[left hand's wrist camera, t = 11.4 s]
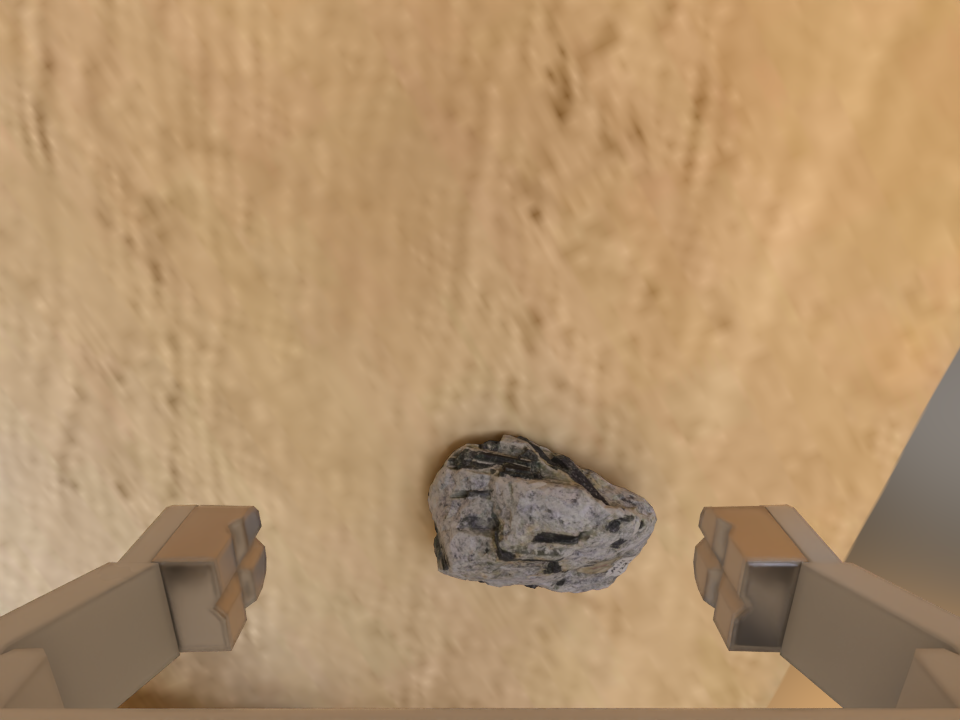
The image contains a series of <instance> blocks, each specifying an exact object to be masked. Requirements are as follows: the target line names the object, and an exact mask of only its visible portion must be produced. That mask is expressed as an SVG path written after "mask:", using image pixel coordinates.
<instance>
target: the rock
mask: <svg viewBox="0 0 960 720" xmlns="http://www.w3.org/2000/svg"><path fill="white" fill-rule="evenodd" d="M428 496H429V497H428V503H429V509H430V511H431V513H432V519H433V520H434V523H435V530H436V532H437V535H436V537H435V539H434V548H435V551H434V552H435V554H436V557H437V563H438V571H440V572H441V573H443V574H446V575H449V576H452V577H455V578H459V579H463V580H469V581H479V582H482V583H486V584H488V585H491V586H496V587H502V586H511V585H514V584H520V585H525V586H526V587H530V588H534V589H535V588H536V587H538V586H539V587H544V588H546V589H549V590H552V591H556V592H572V593H580V592H585V591H589V590H592V589H594V590H600V589H604V588H607V587H609V586H610V585H611V584H612V583H613V582H614V581H615V579H616V578H617V577H618V576H619V575H621V574H622V573H623V572H625V570H626V568H627V566H628V564H629V563H630V562H631V561H632V560H633V559H634V558H635V557H636V556H637V555H638V554H639V553H640V551H641V550H642V548H643V546H644V545H645V544H646V543H647V540H648V539H649V537H650V535H651V533H652V532H653V530H654V526H655V523H656V521H657V518H656V514H655V512H654V509H653V507H652V506H651V505H650V504H649V503H648V502H647V501H646V500H645V499H644V498H642V497H640V496H639V495H637V494H635V493H633V492H631V491H629V490H627V489H625V488H621V487H618V486H614V485H612V484H610V483H609V482H608V481H606V480H605V479H603V478H602V477H601V476H600V475H598V474H597V473H595V472H593V471H591V470H587V469H582V468H580V467H579V466H577V465H576V464H574V462H573V461H572V460H571V459H570V458H568V457H566V456H564V455H561V454H556V453H552V452H551V451H550V450H549V449H548V448H545V447H542V446H539V445H537V444H535V443H534V442H532V441H530V440H528V439H527V438H524V437H521V436H519V437H517V438H515V437H513V436H511V435H503V437H502V439H501V441H491V440H489V441H487V442H485V443H483V444H465V445H464V446H462V447H460V448H458V449H457V450H455V451H454V452H453V453H452V454H451V455H450V457H449V458H448V459H447V460H446V461H445V463H444V465H443V467H442V468H441V469H440V470H439V471H438V473H437V474H436V476H435V479H434V481H433V483H432V484H431V485H430V489H429V494H428Z"/></svg>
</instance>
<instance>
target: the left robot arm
mask: <svg viewBox="0 0 960 720" xmlns="http://www.w3.org/2000/svg"><path fill="white" fill-rule="evenodd" d="M260 528H261V521H260V516H259V511H258V510H257V509H256V508H255V507H254V506H222V505H200V506H199V505H172V506H169V507H166V508H165V509H164V511H163V512H162V513H161V514H160V515H159V516H158V517H157V518H156V520H155V521H154V522H153V523H152V524H151V525H150V526H149V528H148V529H147V530H146V531H145V532H144V533H143V534H142V535H141V537H140V538H139V539H138V540H137V541H136V542H135V543H134V544H133V546H132V547H131V548H130V549H129V550H128V551H127V552H126V553H125V555H124V556H123V557H122V558H121V559H120V560H119V561H118V562H117V563H107V564H105V565H103V566H101V567H99V568H97V569H95V570H93V571H91V572H89V573H87V574H85V575H83V576H81V577H79V578H77V579H75V580H73V581H71V582H69V583H67V584H65V585H63V586H61V587H59V588H57V589H55V590H53V591H51V592H49V593H47V594H45V595H43V596H41V597H39V598H37V599H35V600H33V601H31V602H29V603H27V604H25V605H23V606H21V607H19V608H17V609H15V610H13V611H11V612H9V613H7V614H5V615H3V616H1V617H0V720H960V617H959V616H957V615H955V614H953V613H951V612H949V611H947V610H945V609H943V608H941V607H939V606H937V605H935V604H933V603H931V602H929V601H927V600H925V599H923V598H921V597H919V596H917V595H915V594H913V593H911V592H909V591H907V590H905V589H903V588H901V587H899V586H897V585H895V584H893V583H891V582H889V581H887V580H885V579H883V578H881V577H879V576H877V575H875V574H873V573H871V572H869V571H867V570H865V569H863V568H861V567H859V566H857V565H855V564H853V563H843V562H842V561H841V560H840V559H839V558H838V557H837V556H836V555H835V553H834V552H833V551H832V550H831V549H830V548H829V547H828V546H827V544H826V543H825V542H824V541H823V540H822V539H821V538H820V537H819V535H818V534H817V533H816V532H815V531H814V530H813V529H812V528H811V526H810V525H809V524H808V523H807V522H806V521H805V520H804V519H803V517H802V516H801V515H800V514H799V513H798V512H797V511H796V510H795V508H793V507H791V506H789V505H760V506H731V507H704V508H703V510H702V512H701V514H700V520H699V528H700V530H701V531H702V533H703V535H704V538H703V539H702V540H701V541H700V542H699V543H698V544H697V545H696V546H695V553H694V561H693V563H694V574H695V580H696V583H697V587H698V590H699V592H700V594H701V596H702V598H703V600H704V601H705V602H707V603H708V604H709V605H711V606H712V607H714V608H715V611H714V617H713V621H714V623H715V625H716V627H717V629H718V630H719V632H720V634H721V636H722V638H723V640H724V642H725V644H726V646H727V648H728V650H729V651H755V652H780V655H781V656H782V657H783V658H785V659H786V660H787V661H788V662H789V663H790V664H792V665H793V666H794V667H795V668H796V669H798V670H799V671H800V672H801V673H802V674H804V675H805V676H806V677H807V678H808V679H810V680H811V681H812V682H813V683H814V684H815V685H817V686H818V687H819V688H820V689H821V690H822V691H824V692H825V693H826V694H827V695H828V696H830V697H831V698H832V699H833V700H834V701H836V702H837V703H838V704H839V705H840V706H841V707H843V708H118V707H119V706H120V705H121V704H122V703H123V702H125V701H126V700H127V699H128V698H129V697H131V696H132V695H133V694H134V693H135V692H137V691H138V690H139V689H140V688H141V687H142V686H144V685H145V684H146V683H147V682H148V681H150V680H151V679H152V678H153V677H154V676H156V675H157V674H158V673H159V672H160V671H161V670H163V669H164V668H165V667H166V666H167V665H169V664H170V663H171V662H172V661H173V660H175V659H176V658H177V657H178V656H179V655H180V652H204V651H231V650H232V648H233V646H234V644H235V642H236V640H237V638H238V636H239V634H240V632H241V630H242V629H243V627H244V625H245V623H246V621H247V617H246V611H245V608H246V607H248V606H249V605H250V604H252V603H253V602H255V601H256V600H257V598H258V596H259V594H260V592H261V590H262V588H263V583H264V579H265V574H266V552H265V546H264V545H263V544H262V543H261V542H260V541H259V540H258V539H257V538H256V535H257V533H258V531H259V530H260Z"/></svg>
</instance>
